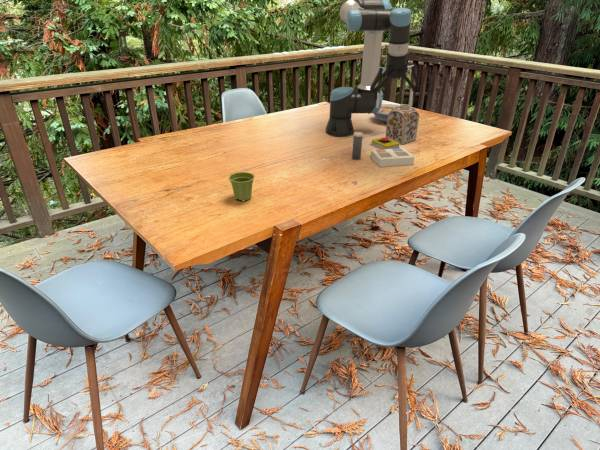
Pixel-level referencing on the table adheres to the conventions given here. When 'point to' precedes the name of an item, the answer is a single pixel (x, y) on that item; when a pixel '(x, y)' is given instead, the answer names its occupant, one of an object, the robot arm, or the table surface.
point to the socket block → (392, 157)
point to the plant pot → (242, 185)
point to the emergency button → (384, 143)
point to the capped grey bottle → (357, 145)
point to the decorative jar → (402, 124)
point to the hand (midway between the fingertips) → (393, 106)
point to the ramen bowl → (385, 111)
